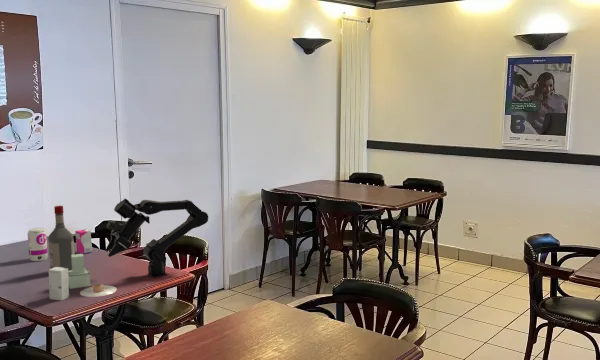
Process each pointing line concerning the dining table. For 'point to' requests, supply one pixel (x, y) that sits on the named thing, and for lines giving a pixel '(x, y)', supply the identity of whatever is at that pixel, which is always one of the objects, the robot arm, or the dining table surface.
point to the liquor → (60, 243)
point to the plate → (89, 292)
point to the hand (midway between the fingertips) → (107, 253)
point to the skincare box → (58, 283)
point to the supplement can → (37, 244)
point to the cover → (78, 273)
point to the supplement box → (83, 241)
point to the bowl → (98, 288)
